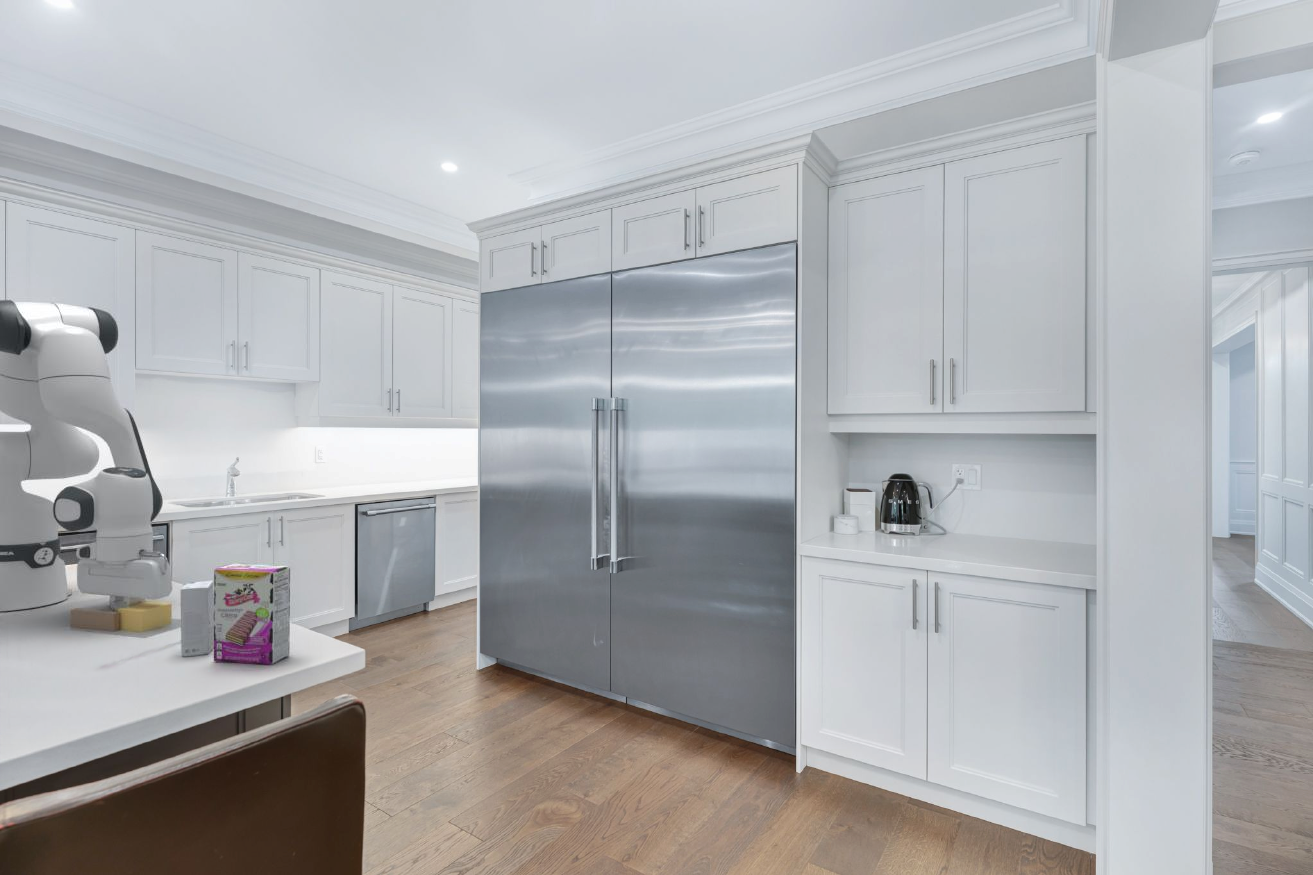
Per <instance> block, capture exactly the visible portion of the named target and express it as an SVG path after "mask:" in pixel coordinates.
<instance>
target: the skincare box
mask: <svg viewBox="0 0 1313 875" xmlns="http://www.w3.org/2000/svg"><path fill="white" fill-rule="evenodd" d="M180 619H181V627H180V645H181V646H180V647H181V649H180V650H181V657H193V656H202V655H208V654H210V653H211V651H212V650H214V581H213V580H205V581H204V580H203V581H195V582H187V583H186V584H184V585H183V587H182V588H181V589H180Z"/></svg>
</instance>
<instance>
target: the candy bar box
mask: <svg viewBox="0 0 1313 875" xmlns="http://www.w3.org/2000/svg"><path fill="white" fill-rule="evenodd" d="M213 575H214V577H213V580H214V581H213V590H214V647H213V662H222V663H223V662H225V663H240V664H255V665H256V664H257V665H274V664H277V663H278V662H280V661H282V660H283V659H285V658H287V657H289V656H290V644H291V642H290V629H291V628H290V627H291V626H290V618H291V617H290V610H291V606H290V605H291V600H290V598H291V566H290V565H277V564H276V565H275V564H274V565H272V564H257V563H256V564H254V563H253V564H252V563H229V564H226V565H222V566H218V567H217V568H214V569H213Z"/></svg>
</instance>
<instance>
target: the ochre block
mask: <svg viewBox="0 0 1313 875" xmlns="http://www.w3.org/2000/svg"><path fill="white" fill-rule="evenodd" d="M146 601H147V602H143V603H139V604H136V605H132V606H128V607H124V608H120V609H117V612H119V630H126V631H135V632H144V631H147V630H151V629H154V628H157V627H161V626H164V625H167V624H171V619H172V603H170V602H158V601H151V602H150V601H148V600H146Z"/></svg>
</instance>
